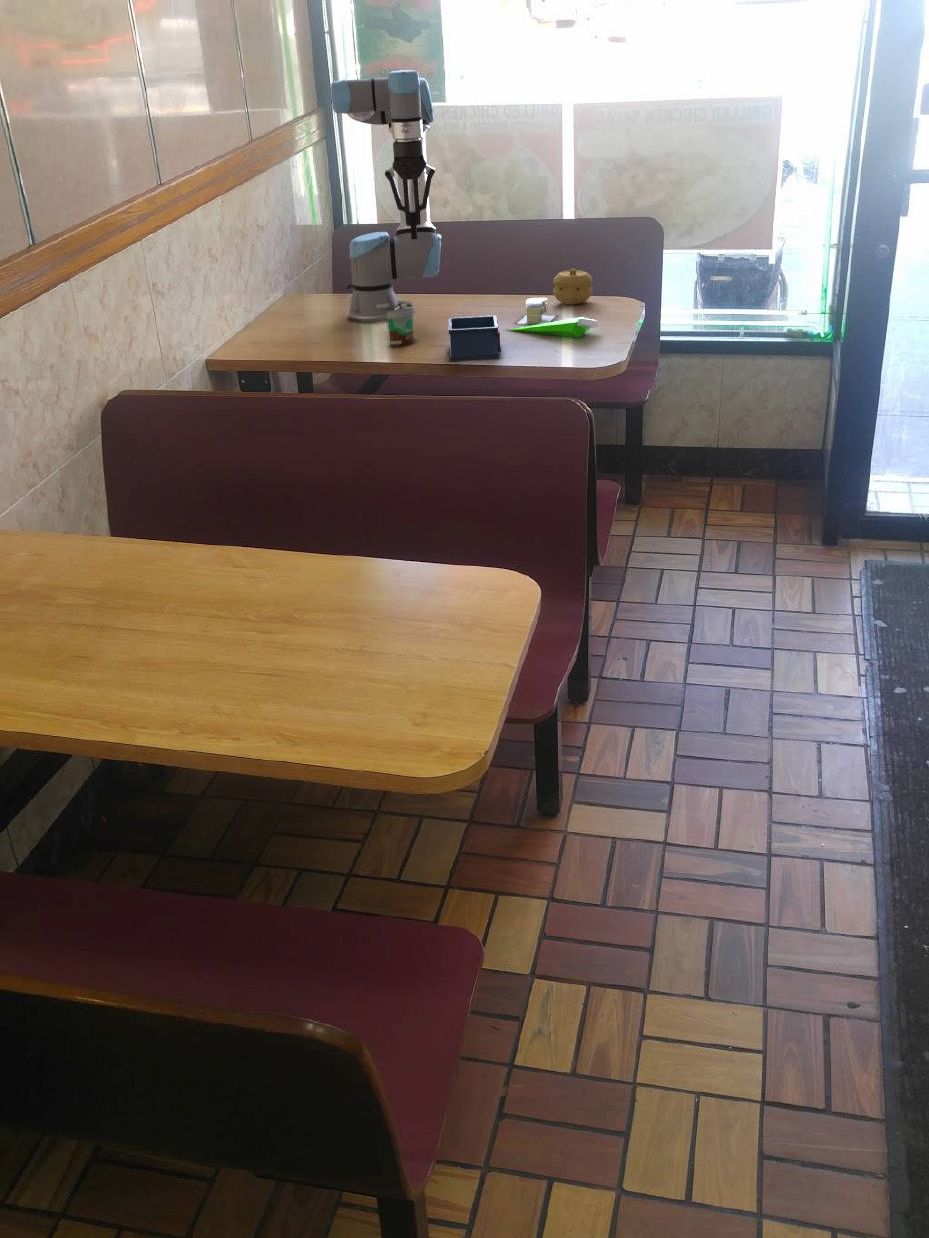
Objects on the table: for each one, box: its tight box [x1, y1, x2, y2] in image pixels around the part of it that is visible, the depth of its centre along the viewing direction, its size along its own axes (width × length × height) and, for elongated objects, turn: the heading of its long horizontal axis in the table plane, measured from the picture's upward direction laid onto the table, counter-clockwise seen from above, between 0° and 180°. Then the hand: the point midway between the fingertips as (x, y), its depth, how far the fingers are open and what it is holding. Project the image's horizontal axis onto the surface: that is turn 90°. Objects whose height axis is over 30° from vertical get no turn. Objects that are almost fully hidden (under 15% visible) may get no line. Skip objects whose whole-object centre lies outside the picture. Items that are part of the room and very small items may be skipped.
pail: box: [447, 314, 502, 362], centre depth 294 cm, size 13×8×13 cm
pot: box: [552, 268, 594, 305], centre depth 336 cm, size 12×12×10 cm
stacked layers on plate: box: [516, 297, 557, 325], centre depth 321 cm, size 10×9×6 cm
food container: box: [387, 300, 417, 348], centre depth 306 cm, size 12×6×10 cm, turn 168°
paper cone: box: [509, 316, 599, 339], centre depth 308 cm, size 11×5×25 cm
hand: (414, 238), depth 291 cm, fingers closed
